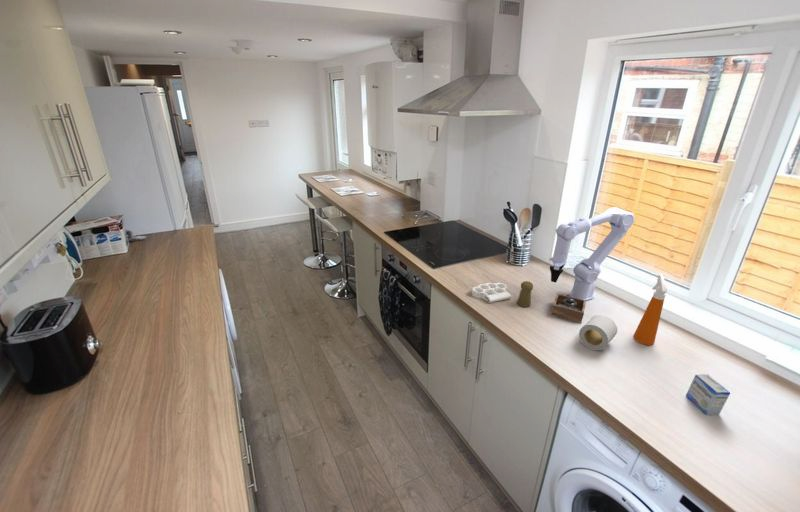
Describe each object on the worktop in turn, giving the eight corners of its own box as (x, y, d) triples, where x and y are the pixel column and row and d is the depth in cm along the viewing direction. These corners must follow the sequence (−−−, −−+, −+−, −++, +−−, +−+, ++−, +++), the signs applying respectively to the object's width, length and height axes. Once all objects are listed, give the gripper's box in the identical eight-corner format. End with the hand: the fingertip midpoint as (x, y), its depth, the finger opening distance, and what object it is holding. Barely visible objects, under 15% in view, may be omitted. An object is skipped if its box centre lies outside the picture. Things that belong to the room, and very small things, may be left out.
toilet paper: (586, 332, 146) (592, 310, 142) (613, 343, 140) (620, 321, 136) (576, 342, 140) (582, 320, 136) (604, 355, 133) (611, 332, 129)
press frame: (554, 302, 167) (557, 293, 165) (583, 310, 161) (586, 300, 160) (550, 314, 157) (553, 304, 155) (581, 323, 152) (583, 313, 150)
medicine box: (685, 395, 116) (694, 373, 112) (698, 395, 116) (708, 373, 112) (706, 415, 108) (717, 392, 105) (720, 414, 109) (731, 392, 105)
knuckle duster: (483, 306, 163) (466, 291, 175) (516, 299, 169) (497, 285, 182) (484, 299, 162) (466, 284, 174) (517, 293, 168) (498, 279, 181)
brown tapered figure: (531, 308, 161) (535, 286, 157) (517, 306, 162) (521, 285, 158) (529, 301, 167) (533, 280, 163) (515, 300, 168) (519, 278, 164)
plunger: (558, 304, 165) (561, 291, 162) (579, 310, 161) (583, 297, 158) (555, 313, 157) (558, 300, 155) (577, 319, 154) (581, 306, 151)
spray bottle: (648, 331, 148) (669, 273, 137) (656, 347, 138) (679, 285, 128) (629, 327, 150) (648, 269, 139) (635, 342, 140) (656, 282, 130)
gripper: (554, 244, 168) (548, 270, 174) (549, 254, 157) (543, 282, 162) (570, 247, 165) (563, 274, 171) (566, 258, 154) (559, 286, 159)
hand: (554, 278), depth 166 cm, fingers open, 7 cm apart
